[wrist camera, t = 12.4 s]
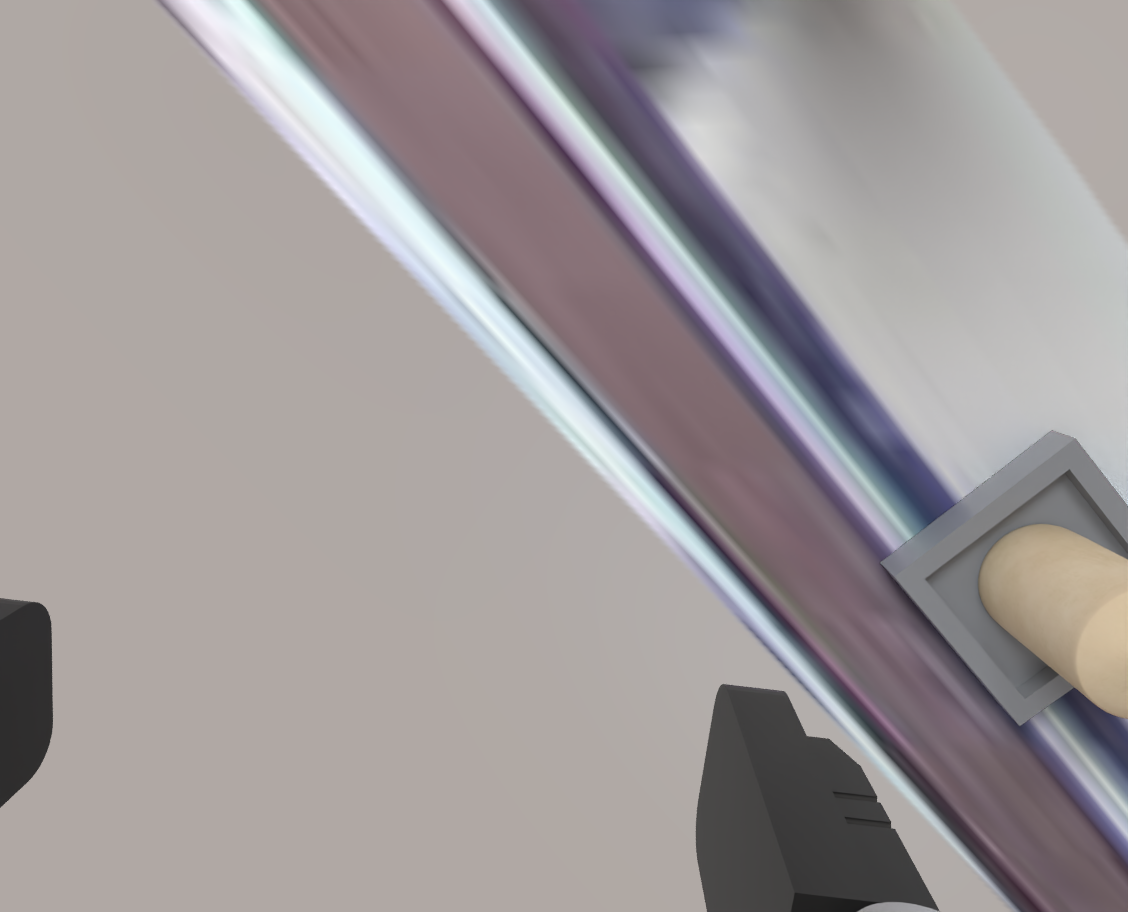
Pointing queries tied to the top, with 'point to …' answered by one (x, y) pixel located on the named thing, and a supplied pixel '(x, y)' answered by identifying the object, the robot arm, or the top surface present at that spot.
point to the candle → (1064, 607)
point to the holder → (969, 530)
